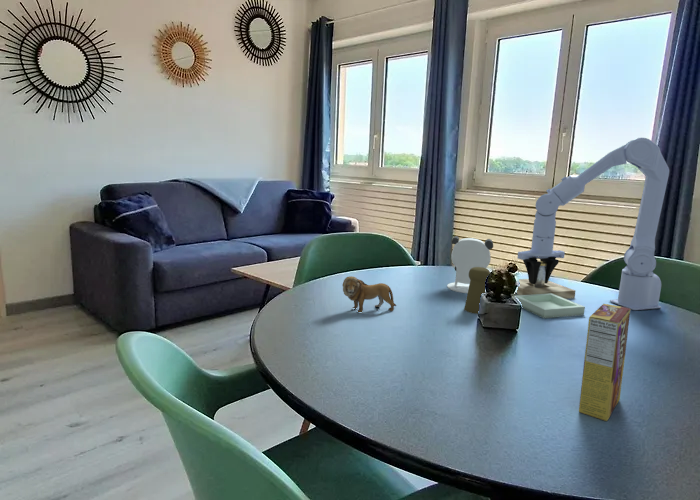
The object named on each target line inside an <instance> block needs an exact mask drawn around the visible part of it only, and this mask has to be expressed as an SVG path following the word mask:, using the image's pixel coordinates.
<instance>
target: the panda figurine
mask: <svg viewBox="0 0 700 500" xmlns="http://www.w3.org/2000/svg"><path fill="white" fill-rule="evenodd" d="M451 244H452V245H453V248H452V250H451V256H450V257H451V263H452V264H453V266H454V272H455V280H454V282H449V283H448V284H447V285H446V287H447V289H448V290H450V291H452V292H456V293H461V294H462V293H463V294H468V289H469V285H470V278H469V271H470V269H471V268H473V267H483V268H486V269H487V268H488V266H489V265H490V263H491V260H492V259H491V258H492V257H491V252H490V250H492V249H493V248H494V242H493V240H492V239H491V238H487V239H485V241H482V240H481V239H478V238H475V237H466V238H461V239H460V237H459V236H458V235H454V236H453V237H452V239H451Z"/></svg>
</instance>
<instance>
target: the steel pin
mask: <svg viewBox="0 0 700 500" xmlns="http://www.w3.org/2000/svg"><path fill="white" fill-rule="evenodd" d="M538 261H539V262H541V265H540V267H539V270H538V274H537V281H536V284H531V286H533V287H535V288H544V285H545V276H546V268H547V263H546V262H542V261H540V260H538Z"/></svg>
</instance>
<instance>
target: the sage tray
mask: <svg viewBox="0 0 700 500" xmlns="http://www.w3.org/2000/svg"><path fill="white" fill-rule="evenodd" d="M515 296H516V297H517V298H518V299H519V301H520V302H521V304H522V307H523V308H522V309H524V310H526V311H527V312H529V313H531V314H534V315H536V316H538V317H540V318H542V319H551V318H552V319H553V318H554V319H555V318H564V317H565V318H566V317H576V316H577V317H579V316H584V315H585V311H586V310H585V309H586V306H584V305H581V304H580V303H576V302H575V301H572V300H569V299H564V298H562V297H559V296H557V295H554V294H552V293H548V294H532V295H518V294H516V295H515Z"/></svg>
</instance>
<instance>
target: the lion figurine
mask: <svg viewBox="0 0 700 500" xmlns="http://www.w3.org/2000/svg"><path fill="white" fill-rule="evenodd" d="M341 284H342V292H343V294H344V295H345V296H346V297H347V298H348V299H349V300H350V301H351V302H352V301H353V305H354V306H353V307H352V308H355V309H356V308H357V309H356V310H357V311H358V312H362V311H364V303H365V300H366V301H367V300H369V301H370V300H373V299H376V298H378V300H379V302H378V304H376V305H374V308H375V307H380V308H381V307H382V305H383V304H384V303H387V304H388V305H390V307H389V308H388V309H387V310H388V311H389V310H390V311H389V312H394V309H395V307H397V304H396V303H395V301H394V295H393V291H392V289H391V287H390V286H389V285H388V284H386V283H381V282H380V283H375V284H367V283H365V282H364V281H363V280H362V279H358V278H357V277H355V276H351V275H349V276H347V277H345V278H344V279H343V283H341ZM362 313H363V312H362Z"/></svg>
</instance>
